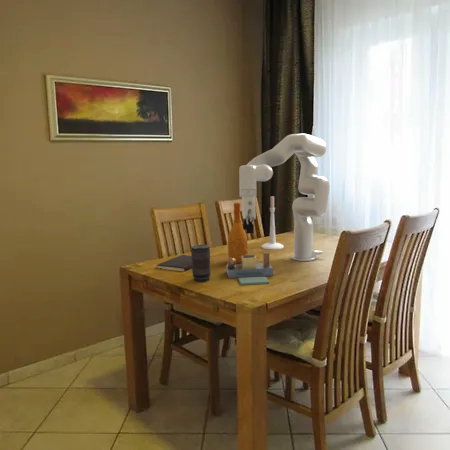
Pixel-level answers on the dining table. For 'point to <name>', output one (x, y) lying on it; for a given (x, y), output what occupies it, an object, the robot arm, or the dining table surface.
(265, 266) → the hand plane
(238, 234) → the wine bottle
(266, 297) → the dining table surface
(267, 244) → the candlestick
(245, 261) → the lever cap
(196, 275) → the camera lens
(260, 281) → the rubber mat
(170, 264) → the hardcover book
